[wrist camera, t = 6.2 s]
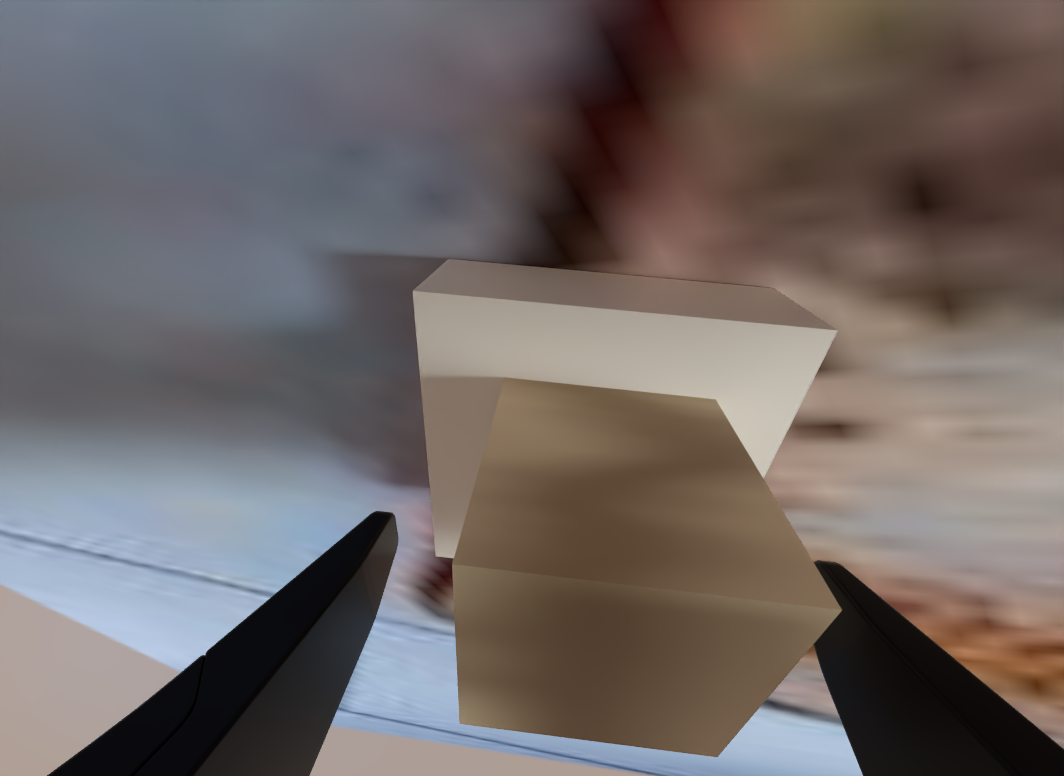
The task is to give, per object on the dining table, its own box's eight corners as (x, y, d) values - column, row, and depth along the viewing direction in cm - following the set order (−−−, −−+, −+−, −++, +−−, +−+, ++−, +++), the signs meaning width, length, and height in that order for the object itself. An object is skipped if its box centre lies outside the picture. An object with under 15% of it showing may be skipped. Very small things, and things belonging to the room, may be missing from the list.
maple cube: (715, 399, 9) (842, 609, 5) (663, 539, 12) (717, 756, 8) (504, 377, 9) (452, 563, 5) (498, 520, 12) (459, 723, 8)
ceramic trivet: (773, 288, 11) (837, 330, 8) (685, 514, 15) (708, 587, 13) (448, 258, 11) (412, 291, 9) (457, 490, 16) (435, 556, 13)
